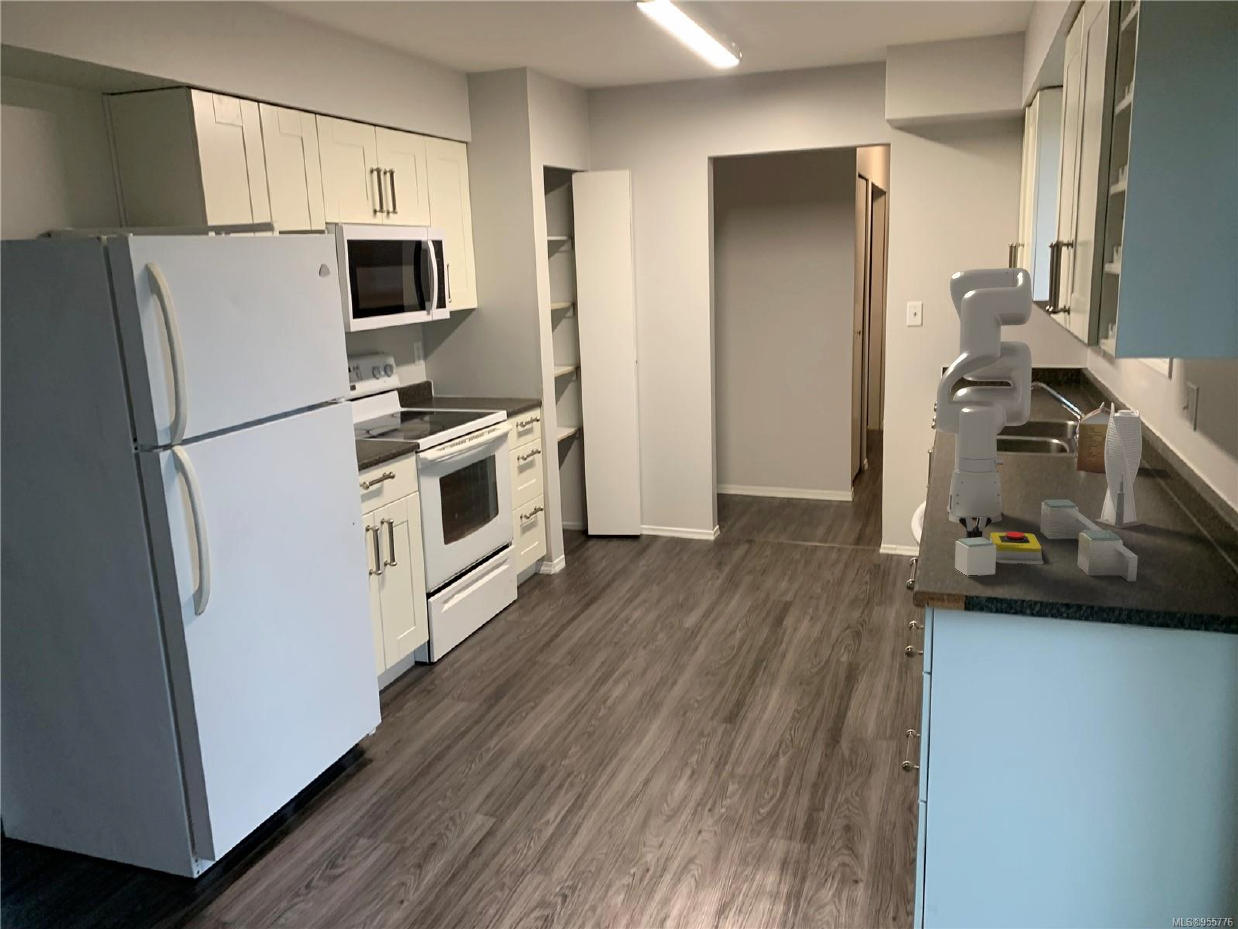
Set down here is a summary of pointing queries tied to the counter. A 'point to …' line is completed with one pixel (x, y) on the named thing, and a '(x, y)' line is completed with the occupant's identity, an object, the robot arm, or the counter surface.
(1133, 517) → the skyscraper
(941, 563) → the counter surface
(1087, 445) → the milk carton
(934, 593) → the counter surface
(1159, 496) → the counter surface
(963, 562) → the block
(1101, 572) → the rail fixture
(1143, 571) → the counter surface
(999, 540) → the emergency button
